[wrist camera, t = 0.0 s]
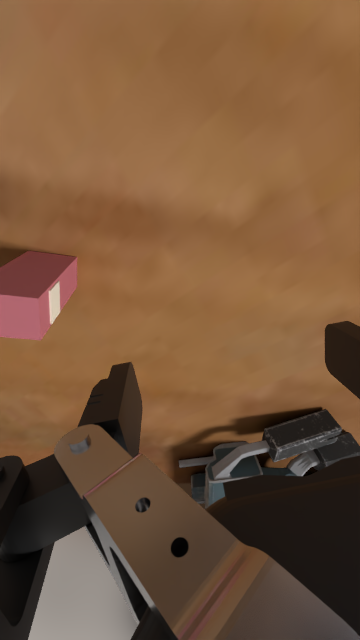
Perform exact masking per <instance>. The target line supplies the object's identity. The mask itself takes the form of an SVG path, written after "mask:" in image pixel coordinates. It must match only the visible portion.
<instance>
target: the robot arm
mask: <svg viewBox="0 0 360 640" xmlns="http://www.w3.org/2000/svg"><path fill="white" fill-rule="evenodd" d="M325 363H326V366H327V369H328V371H329V372H330V373H331V375H333V376H334V377H335V378H336V379H337V380H338V381H339V382H341V383H342V384H343V385H344V386H345V387H346V388H348V389H349V390H350V391H351V392H352V393H353V394H354V395H356V396H357V397H358V398H359V399H360V327H359V326H357V325H355V324H353V323H351V322H349V321H344V322H339V323H333V324H328V325H327V326H326V328H325ZM141 419H142V400H141V394H140V391H139V387H138V383H137V379H136V375H135V371H134V368H133V365H132V363H131V362H128V363H123V364H117V365H113V366H112V368H111V371H110V374H109V377H108V379H103V380H101V381H100V382H99V383H98V384H97V385H96V386H95V387H94V388H93V390H92V392H91V395H90V398H89V400H88V402H87V405H86V407H85V410H84V412H83V415H82V417H81V420H80V422H79V425H78V427H77V428H75V429H73V430H71V431H70V432H68V433H67V434H65V435H64V436H63V437H62V438H61V439H60V440H59V441H58V443H57V444H56V446H55V449H54V454H52V455H50V456H48V457H46V458H44V459H41V460H39V461H37V462H34V463H32V464H30V465H27V466H24V464H23V462H22V460H21V458H20V457H18V456H5V457H2V458H0V640H28V637H29V633H30V630H31V626H32V622H33V619H34V615H35V611H36V608H37V604H38V600H39V597H40V593H41V590H42V586H43V582H44V579H45V575H46V571H47V568H48V564H49V560H50V556H51V553H52V550H53V546H54V542H55V541H57V540H59V539H61V538H63V537H65V536H67V535H69V534H70V533H72V532H74V531H76V530H78V529H80V528H82V527H85V529H86V531H87V532H88V534H89V536H90V538H91V539H92V541H93V543H94V545H95V546H96V548H97V550H98V551H99V553H100V555H101V557H102V559H103V560H104V562H105V564H106V566H107V567H108V569H109V571H110V573H111V574H112V576H113V578H114V580H115V581H116V584H117V586H118V588H119V590H120V592H121V594H122V596H123V598H124V600H125V602H126V604H127V606H128V608H129V610H130V612H131V614H132V615H133V617H134V619H135V621H136V623H137V624H138V627H137V629H136V630H135V632H134V634H133V636H132V638H131V640H360V456H355V457H350V458H345V459H341V460H339V461H337V462H335V463H333V464H331V465H329V466H327V467H325V468H323V469H321V470H319V471H317V472H315V473H313V474H311V475H308V476H281V475H259V476H254V477H248V478H243V479H238V480H233V481H228V482H223V487H224V493H225V497H223V498H221V499H219V500H217V501H216V502H214V503H213V504H211V505H210V506H209V507H208V508H207V509H204V508H202V507H201V506H200V505H199V504H198V503H197V502H196V501H195V500H194V499H193V498H191V497H190V496H189V495H188V494H187V493H186V492H185V491H184V490H183V489H181V488H180V487H179V486H178V485H177V484H176V483H175V482H174V481H173V480H171V479H170V478H169V477H168V476H167V475H166V474H165V473H164V472H163V471H162V470H160V469H159V468H158V467H157V466H156V465H155V464H154V463H153V462H152V461H150V460H149V459H148V458H147V457H146V456H145V455H143V454H142V453H139V442H140V431H141Z"/></svg>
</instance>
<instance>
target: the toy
mask: <svg viewBox="0 0 360 640" xmlns="http://www.w3.org/2000/svg"><path fill="white" fill-rule="evenodd" d="M341 431H342V428H341V427H340V425H339V424H338V423H337V422H336V421H335V419H334V418H333V417H332V416H331V414H330V413H329V412H328V411H327V410H326V409H324V410H321V411H318V412H315V413H312V414H309V415H305V416H302V417H299V418H296V419H293V420H290V421H287V422H283V423H280V424H277V425H274V426H271V427H268V428H265V429H264V433H263V437H262V441H260V442H255V443H250V444H249V443H247V442H235V443H225V444H221V445H219V446H216V447H215V448H214V449H213V456H212V457H203V458H195V459H187V460H179V467H180V468H181V467H190V466H198V465H206V464H208V465H207V466H206V468H205V471H206V473H202V474H200V473H198V474H194V475H192V476H191V490H192V497H191V498H193V499H194V500H195V501H196V502H197V503H198V504H199V503H205V509H207V508H208V507H209V506H210V505H211V504H213V503H214V502H216V501H217V500H219V499H221V498H223V497H225V493H224V487H223V482H228V481H233V480H238V479H243V478H248V477H254V476H259V475H281V476H303V475H304V474H305V472H306V471H308V470H309V469H310V468H311V467H314V469H316V470H318V471H319V470H321V469H323V468H325V467H327V466H329V465H331V464H333V463H335V462H337V461H339V460H341V459H345V458H350V457H355V456H360V446H359V445H358V443H357V442H356V440H355V439H354V438H353V436H352V435H351V433H349V432H344V433H341ZM265 452H268V453H269V455H270V457H271V459H272V460H273V462H276V461H279V460H282V459H285V458H288V457H291V456H295V455H298V454H299V455H298V456H297V457H296V458H294V459H292V460H291V461H290V462H289V463H288V465H287V468H269V467H260V464H259V461H258V459H257V456H256V454H260V453H265Z"/></svg>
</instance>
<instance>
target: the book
mask: <svg viewBox="0 0 360 640" xmlns="http://www.w3.org/2000/svg"><path fill="white" fill-rule="evenodd" d="M76 288H77V257H72V256H65V255H57V254H50V253H42V252H35V251H27V252H25V253H24V254H22V255H20V256H19V257H17V258H15V259H14V260H12V261H10V262H9V263H7V264H5V265H4V266H2V267H0V337H9V338H21V339H32V340H41V339H42V338H43V336H44V335H45V333H46V332H47V330H48V329H49V327H50V326H51V324H52V323H53V322H54V320H55V319H56V317H57V316H58V314H59V313H60V311H61V310H62V308H63V307H64V305H65V304H66V302H67V301H68V299H69V298H70V296H71V295H72V293H73V292H74V291H75V289H76Z"/></svg>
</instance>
